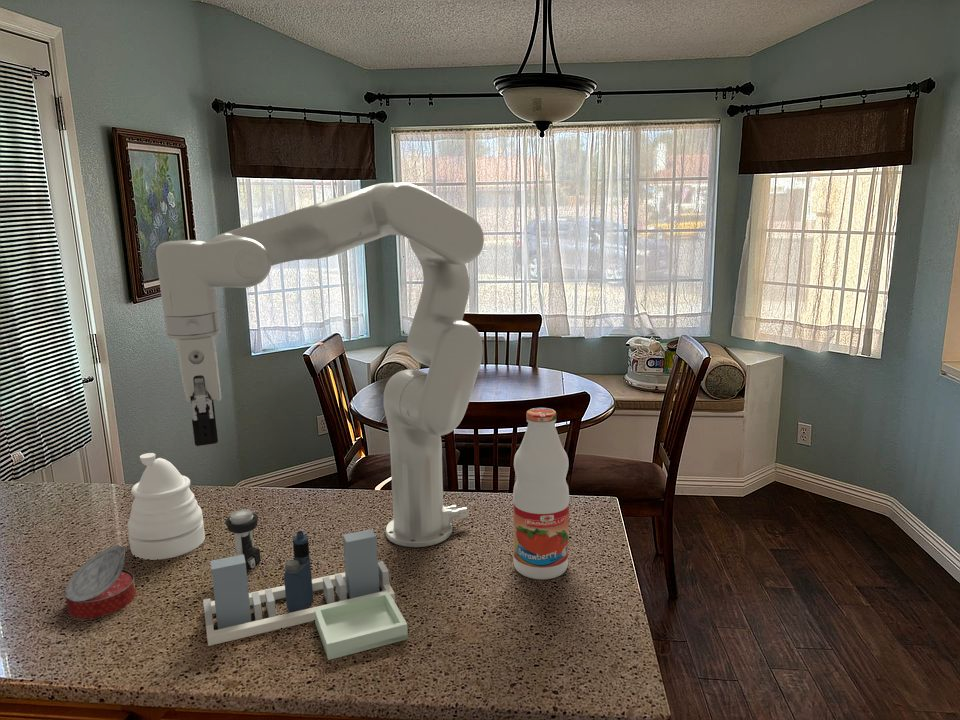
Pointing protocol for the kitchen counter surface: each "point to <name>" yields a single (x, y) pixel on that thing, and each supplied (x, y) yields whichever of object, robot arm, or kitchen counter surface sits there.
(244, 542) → the push button
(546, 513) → the fruit juice
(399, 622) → the tray
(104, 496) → the kitchen counter surface
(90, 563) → the canned food
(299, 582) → the vaping device
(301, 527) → the kitchen counter surface
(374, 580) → the rail
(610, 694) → the kitchen counter surface
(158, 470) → the honey pot
